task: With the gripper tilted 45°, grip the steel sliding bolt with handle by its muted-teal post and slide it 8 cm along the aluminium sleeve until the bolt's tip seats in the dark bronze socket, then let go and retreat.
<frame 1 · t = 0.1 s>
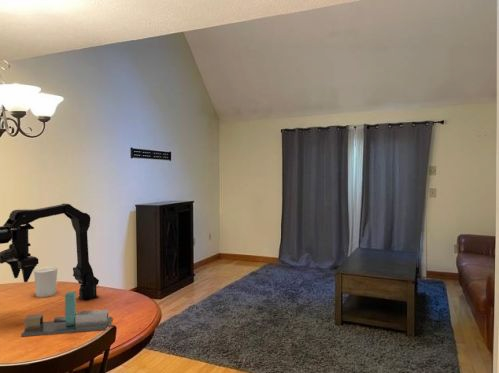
hand: (20, 280, 150), 15 cm above the table, tool pointing down, fingers open, 9 cm apart
sleeve and socket: (71, 327, 139), on the table
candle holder: (46, 294, 177), on the table
sliding bolt with handle: (80, 307, 140), point 7 cm above the table, slide at 0.0 cm
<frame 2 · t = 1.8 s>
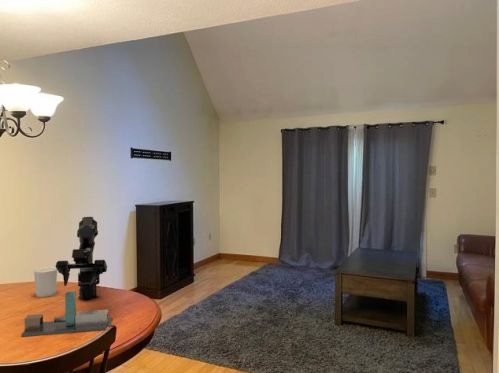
hand: (77, 285, 147), 13 cm above the table, tool tilted 45°, fingers open, 9 cm apart
nothing on the table moved.
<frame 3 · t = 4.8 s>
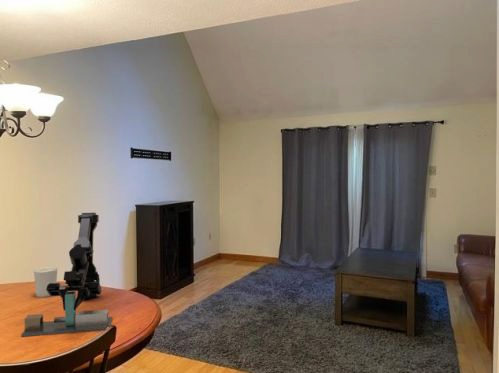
hand: (69, 310, 138), 7 cm above the table, tool tilted 45°, fingers closed on sliding bolt with handle, 3 cm apart
sliding bolt with handle: (80, 307, 140), point 7 cm above the table, slide at 0.1 cm, touching gripper
everything else where it was.
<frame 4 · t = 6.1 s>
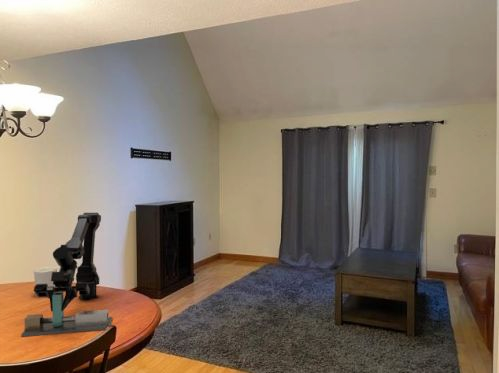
hand: (56, 310, 137), 7 cm above the table, tool tilted 45°, fingers closed on sliding bolt with handle, 3 cm apart
sliding bolt with handle: (68, 308, 139), point 7 cm above the table, slide at 4.3 cm, touching gripper
everything else where it was.
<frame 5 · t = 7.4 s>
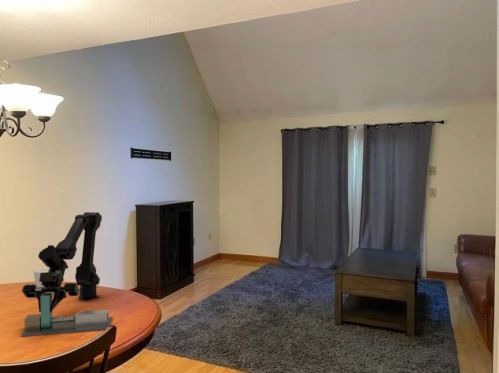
hand: (45, 311, 136), 7 cm above the table, tool tilted 45°, fingers closed on sliding bolt with handle, 3 cm apart
sliding bolt with handle: (56, 309, 138), point 7 cm above the table, slide at 8.2 cm, touching gripper
everything else where it was.
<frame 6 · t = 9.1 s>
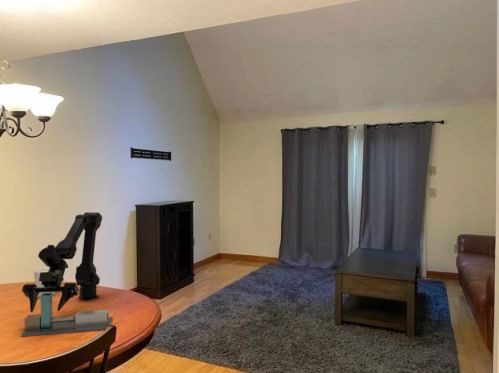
hand: (44, 311, 136), 7 cm above the table, tool tilted 45°, fingers open, 9 cm apart
sliding bolt with handle: (56, 309, 138), point 7 cm above the table, slide at 8.2 cm
everything else where it was.
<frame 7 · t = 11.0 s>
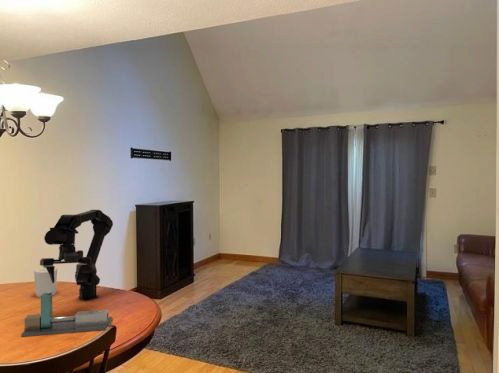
hand: (65, 282, 156), 12 cm above the table, tool pointing down, fingers open, 9 cm apart
nothing on the table moved.
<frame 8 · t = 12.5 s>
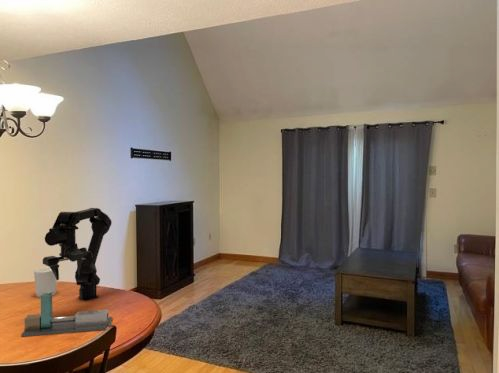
hand: (68, 277, 159), 13 cm above the table, tool pointing down, fingers open, 9 cm apart
nothing on the table moved.
at the end: sliding bolt with handle slide at 8.2 cm; the gripper is holding nothing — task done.
